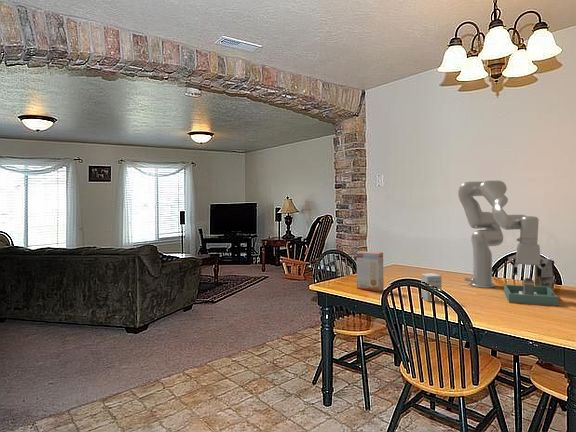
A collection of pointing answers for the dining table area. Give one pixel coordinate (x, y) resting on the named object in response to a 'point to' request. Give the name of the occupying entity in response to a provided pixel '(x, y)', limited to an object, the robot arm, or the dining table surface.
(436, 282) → the supplement box
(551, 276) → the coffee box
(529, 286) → the connector
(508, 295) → the walled box
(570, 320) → the dining table surface
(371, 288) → the cracker box
